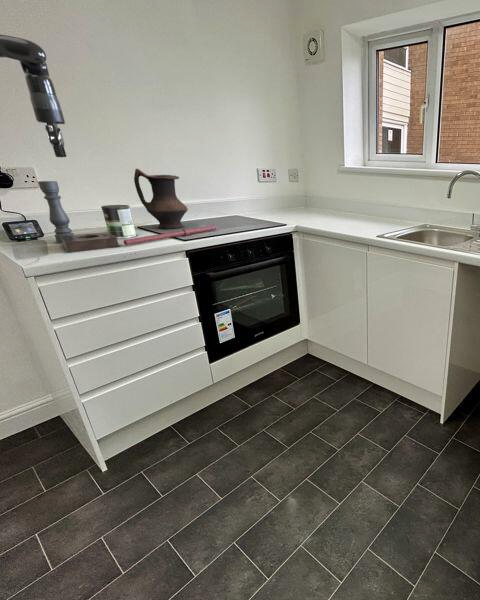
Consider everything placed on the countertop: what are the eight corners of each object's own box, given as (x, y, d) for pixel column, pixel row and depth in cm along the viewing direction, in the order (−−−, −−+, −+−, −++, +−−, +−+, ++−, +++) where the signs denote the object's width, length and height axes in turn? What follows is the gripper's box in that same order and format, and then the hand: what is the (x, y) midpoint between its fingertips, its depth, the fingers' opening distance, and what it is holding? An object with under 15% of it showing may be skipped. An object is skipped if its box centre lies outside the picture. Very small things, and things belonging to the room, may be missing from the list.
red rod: (213, 230, 187) (212, 224, 186) (217, 230, 186) (216, 224, 185) (123, 245, 148) (121, 238, 147) (128, 246, 147) (126, 239, 146)
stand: (68, 252, 136) (65, 242, 135) (62, 245, 146) (59, 236, 144) (118, 246, 147) (116, 237, 146) (110, 240, 157) (108, 231, 156)
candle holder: (76, 239, 156) (58, 181, 147) (75, 242, 152) (57, 181, 143) (57, 241, 153) (37, 181, 144) (56, 243, 148) (36, 181, 139)
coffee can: (110, 239, 159) (101, 207, 154) (108, 235, 166) (100, 205, 161) (138, 237, 165) (130, 206, 160) (135, 233, 172) (127, 204, 167)
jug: (187, 223, 203) (177, 168, 192) (193, 228, 190) (183, 169, 179) (143, 226, 191) (130, 167, 180) (147, 231, 177) (132, 169, 166)
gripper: (36, 109, 128) (50, 156, 134) (28, 105, 118) (44, 156, 124) (63, 111, 133) (76, 157, 139) (58, 107, 122) (73, 157, 128)
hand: (61, 157), depth 131 cm, fingers open, 8 cm apart
